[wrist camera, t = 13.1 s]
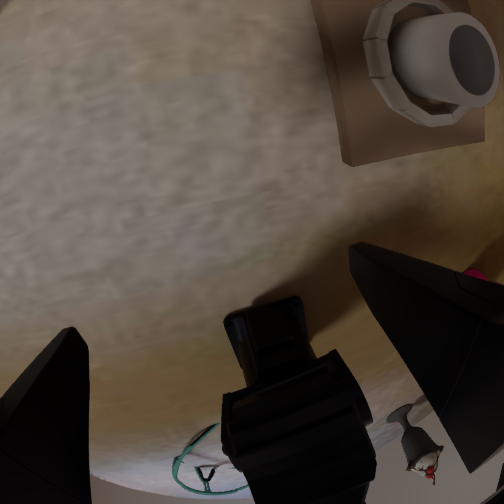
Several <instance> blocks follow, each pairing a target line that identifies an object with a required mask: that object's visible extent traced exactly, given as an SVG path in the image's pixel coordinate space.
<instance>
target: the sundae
mask: <svg viewBox="0 0 504 504" xmlns="http://www.w3.org/2000/svg"><path fill="white" fill-rule="evenodd" d="M411 409H412V405H410V404H408V405H404V406H402V407H400V408H398V409H397V410H395V411H394V412H393V413H392V414H390V415H389V417H388V418H387V422H388V423H393V422H396V421H398V422H399V423H400V424H401V425H402V426H403V428H404V430H405V431H404V434H403V436H402V440H401V443H402V446H403V449H404V452H405V455H406V457H407V462H408V467H407V469H406V470H407V471H414V472H418V474H420V475H421V476H426V477H427V478H428V479H429V478H433V476H434V478H433V480H434V481H433V485H435V475H434V472H435V471H436V470H437V467H438V458H439V455H440V453H441V452H442V450H443V448H444V446H438V445H436V444H435V442H433V440H432V439H431V438H430V437H429V435H428V434H427V433H426V432H425V431H424V430H423V429H422V428H420V427H413V426H411V425H410V423H409V422H408V419H407V414H408V413H409V412H410V411H411Z"/></svg>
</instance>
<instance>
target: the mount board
mask: <svg viewBox="0 0 504 504" xmlns="http://www.w3.org/2000/svg"><path fill="white" fill-rule="evenodd" d="M311 3H312V7H313V10H314V14H315V18H316V22H317V26H318V30H319V34H320V39H321V43H322V47H323V52H324V56H325V61H326V66H327V71H328V76H329V81H330V86H331V91H332V97H333V103H334V108H335V114H336V120H337V127H338V133H339V140H340V147H341V155H342V162H344V163H346V164H348V165H349V166H351V167H355V166H360V165H364V164H369V163H373V162H378V161H382V160H387V159H392V158H396V157H401V156H406V155H411V154H416V153H421V152H426V151H432V150H437V149H442V148H448V147H454V146H459V145H465V144H471V143H477V142H484V141H485V125H484V107H481V108H473V107H468V106H464V105H459V104H454V103H448V102H443V101H437V100H431V99H425V98H420V97H417V96H414V95H412V94H411V93H409V92H408V91H407V90H405V89H404V88H403V87H402V85H401V84H400V83H399V82H398V80H397V79H396V77H395V75H394V73H393V71H392V67H391V61H390V56H389V50H388V40H389V36H390V34H391V32H392V30H393V28H394V27H395V26H396V25H397V24H398V23H399V22H401V21H403V20H407V19H412V18H418V17H425V16H432V15H439V14H448V13H457V12H461V13H466V14H469V15H471V13H470V9H469V5H468V1H467V0H311Z"/></svg>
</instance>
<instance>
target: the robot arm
mask: <svg viewBox="0 0 504 504" xmlns="http://www.w3.org/2000/svg"><path fill="white" fill-rule="evenodd" d="M349 267H350V272H351V275H352V277H353V278H354V280H355V282H356V284H357V286H358V288H359V290H360V292H361V293H362V295H363V297H364V299H365V301H366V303H367V305H368V307H369V309H370V310H371V312H372V314H373V315H374V317H375V318H376V320H377V321H378V323H379V324H380V326H381V327H382V329H383V330H384V332H385V333H386V335H387V336H388V338H389V339H390V341H391V342H392V344H393V345H394V347H395V348H396V350H397V351H398V353H399V354H400V356H401V358H402V359H403V361H404V362H405V364H406V365H407V367H408V369H409V370H410V372H411V373H412V375H413V376H414V378H415V380H416V381H417V383H418V384H419V386H420V388H421V389H422V391H423V393H424V394H425V396H426V398H427V399H428V401H429V402H430V404H431V406H432V407H433V409H434V411H435V412H436V414H437V416H438V417H439V418H440V421H441V423H442V425H443V427H444V428H445V430H446V432H447V433H448V435H449V437H450V439H451V441H452V442H453V444H454V446H455V448H456V449H457V451H458V453H459V455H460V456H461V459H462V460H463V462H464V464H465V466H466V468H467V470H468V471H469V473H472V472H474V471H475V470H477V469H478V468H479V467H481V466H482V465H483V464H485V463H486V462H487V461H489V460H490V459H491V458H493V457H494V456H495V455H496V454H498V453H499V452H500V451H501V450H502V449H504V285H502V284H498V283H494V282H491V281H487V280H483V279H480V278H476V277H473V276H470V275H467V274H464V273H461V272H458V271H453V270H451V269H448V268H445V267H442V266H439V265H436V264H433V263H430V262H427V261H423V260H420V259H417V258H414V257H411V256H407V255H404V254H401V253H398V252H394V251H391V250H388V249H384V248H381V247H378V246H374V245H371V244H368V243H364V242H358V243H355V244H352V245H350V246H349ZM295 302H297V303H295ZM294 303H295V304H294ZM228 322H232V323H229V324H228ZM223 323H224V327H225V330H226V332H227V335H228V337H229V340H230V342H231V345H232V347H233V350H234V352H235V355H236V357H237V359H238V362H239V364H240V367H241V368H242V369H243V373H244V378H245V382H246V386H247V387H246V388H243V389H241V390H238V391H235V392H232V393H230V392H228V393H226V394H223V403H222V416H221V442H222V444H223V445H222V451H223V453H224V454H225V455H226V456H228V457H229V459H230V461H231V462H232V464H233V465H234V467H235V468H236V469H237V470H238V471H239V472H243V474H244V476H245V478H246V480H247V482H248V485H249V488H250V490H251V493H252V496H253V499H254V501H255V504H366V502H365V498H366V495H367V491H368V487H369V483H370V482H371V481H373V480H374V478H375V473H376V465H377V462H376V459H375V458H376V454H375V450H374V448H373V445H372V443H371V440H370V438H369V435H368V433H367V430H366V428H365V426H367V425H369V424H371V423H373V418H372V414H371V411H370V408H369V406H368V403H367V401H366V399H365V396H364V394H363V392H362V390H361V388H360V386H359V384H358V382H357V381H356V379H355V377H354V376H353V374H352V373H351V371H350V370H349V368H348V367H347V365H346V364H345V362H344V361H343V359H342V358H341V356H340V355H339V353H338V352H337V350H336V349H334V350H332V351H330V352H329V353H328V354H326V355H324V356H322V357H320V358H317V357H316V355H315V353H314V351H313V349H312V347H311V344H310V342H309V340H308V335H307V328H306V322H305V316H304V309H303V303H302V300H301V298H300V297H298V296H294V297H291V298H288V299H285V300H281V301H278V302H275V303H272V304H269V305H265V306H262V307H259V308H255V309H252V310H249V311H245V312H242V313H239V314H235V315H232V316H228V317H226V318H225V319H224V320H223ZM89 398H90V380H89V349H88V346H87V344H86V342H85V341H84V339H83V338H82V336H81V335H80V334H79V332H78V331H77V329H76V328H75V327H68V328H64V329H62V330H61V331H60V332H59V333H58V335H57V336H56V337H55V338H54V339H53V340H52V341H51V342H50V343H49V344H48V345H47V346H46V347H45V348H44V349H43V351H42V352H41V353H40V354H39V355H38V356H37V357H36V358H35V359H34V360H33V361H32V363H31V364H30V365H29V366H28V367H27V368H26V369H25V370H24V372H23V373H22V374H21V375H20V376H19V377H18V378H17V380H16V381H15V382H14V383H13V384H12V385H11V386H10V388H9V389H8V390H7V391H6V392H5V394H4V395H3V396H2V397H1V398H0V504H92V499H91V487H90V469H89ZM481 504H504V463H503V465H502V470H501V474H500V478H499V482H498V486H497V489H496V492H495V493H494V494H492V495H491V496H490V497H488V498H487V499H486V500H484V501H483V502H482V503H481Z"/></svg>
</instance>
